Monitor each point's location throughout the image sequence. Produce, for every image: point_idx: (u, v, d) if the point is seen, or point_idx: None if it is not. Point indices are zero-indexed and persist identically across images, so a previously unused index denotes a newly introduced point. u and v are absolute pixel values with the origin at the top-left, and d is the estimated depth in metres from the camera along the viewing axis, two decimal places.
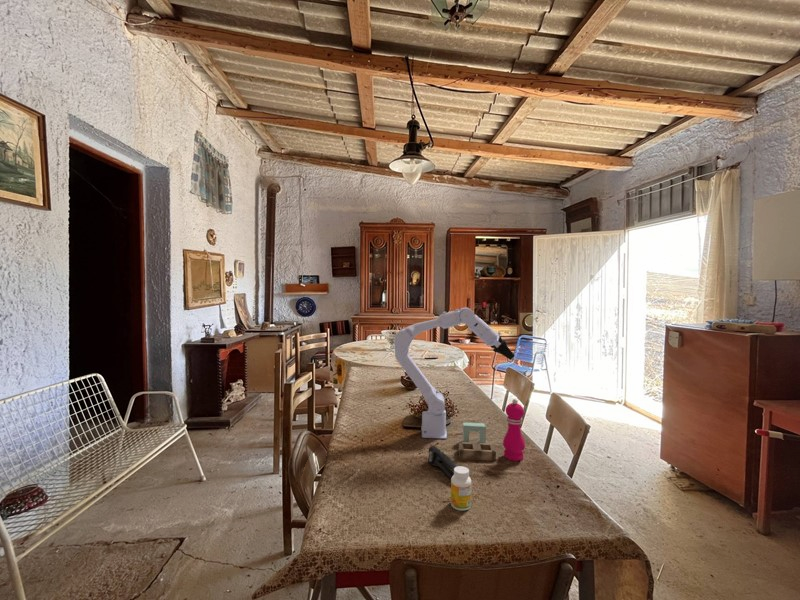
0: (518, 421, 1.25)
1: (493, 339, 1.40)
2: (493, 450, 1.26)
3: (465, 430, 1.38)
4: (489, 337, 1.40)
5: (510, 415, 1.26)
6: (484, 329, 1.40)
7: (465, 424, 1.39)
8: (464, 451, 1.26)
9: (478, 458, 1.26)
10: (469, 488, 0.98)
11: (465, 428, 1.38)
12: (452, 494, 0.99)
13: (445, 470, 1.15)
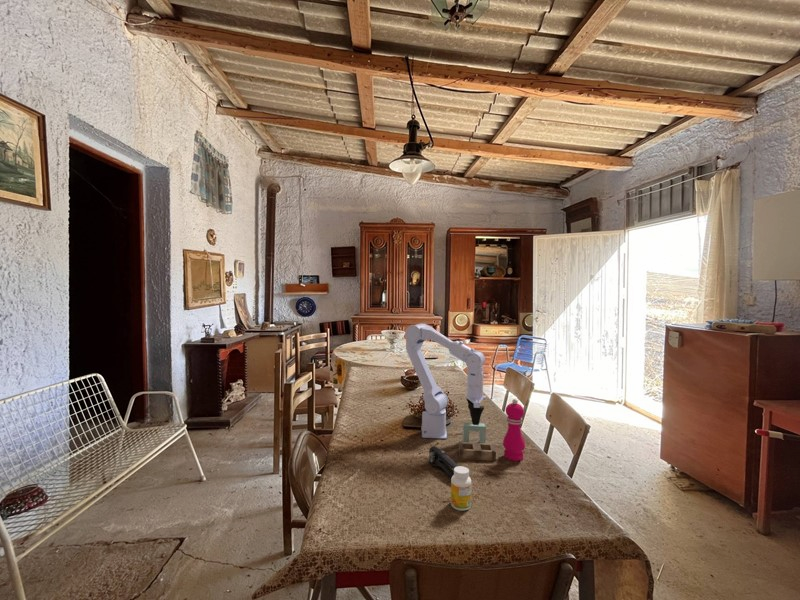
0: (518, 421, 1.25)
1: (476, 397, 1.35)
2: (493, 450, 1.26)
3: (465, 430, 1.38)
4: (475, 393, 1.35)
5: (510, 415, 1.26)
6: (474, 384, 1.35)
7: (465, 424, 1.39)
8: (464, 451, 1.26)
9: (478, 458, 1.26)
10: (469, 488, 0.98)
11: (465, 428, 1.38)
12: (452, 494, 0.99)
13: (447, 470, 1.15)
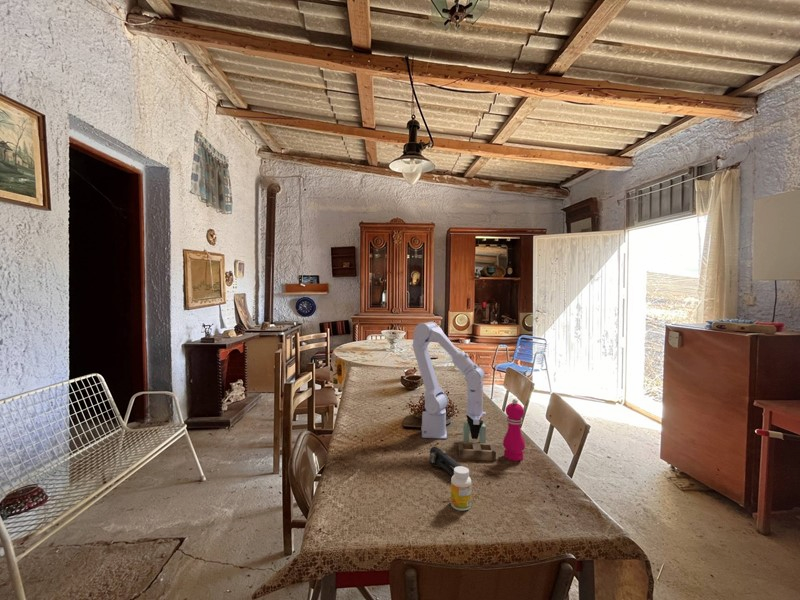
0: (518, 421, 1.25)
1: (476, 414, 1.36)
2: (493, 450, 1.26)
3: (465, 430, 1.38)
4: (475, 409, 1.36)
5: (510, 415, 1.26)
6: (474, 400, 1.36)
7: (465, 424, 1.39)
8: (464, 451, 1.26)
9: (478, 458, 1.26)
10: (469, 488, 0.98)
11: (465, 428, 1.38)
12: (452, 494, 0.99)
13: (449, 471, 1.15)
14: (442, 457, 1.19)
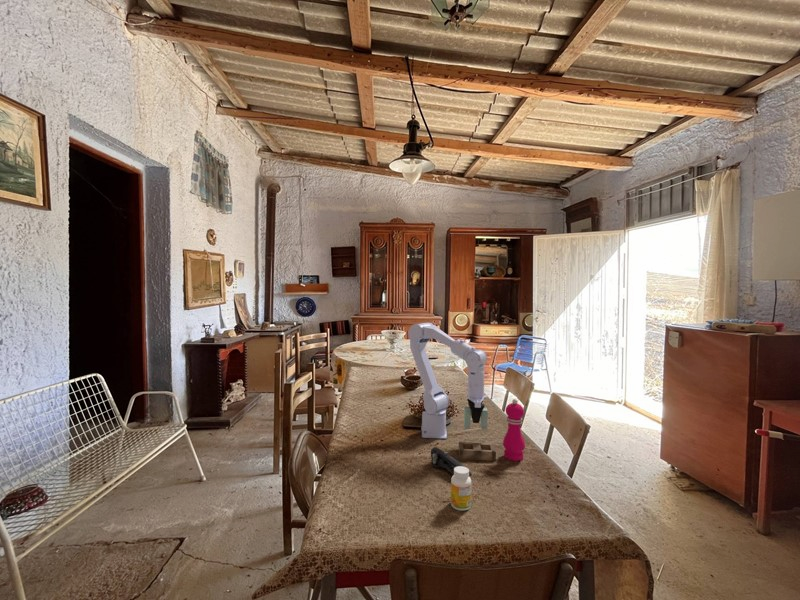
0: (518, 421, 1.25)
1: (477, 397, 1.32)
2: (493, 450, 1.26)
3: (466, 414, 1.34)
4: (476, 393, 1.32)
5: (510, 415, 1.26)
6: (474, 383, 1.32)
7: (466, 408, 1.35)
8: (464, 451, 1.26)
9: (478, 458, 1.26)
10: (469, 488, 0.98)
11: (466, 412, 1.34)
12: (452, 494, 0.99)
13: (452, 471, 1.15)
14: (444, 457, 1.18)
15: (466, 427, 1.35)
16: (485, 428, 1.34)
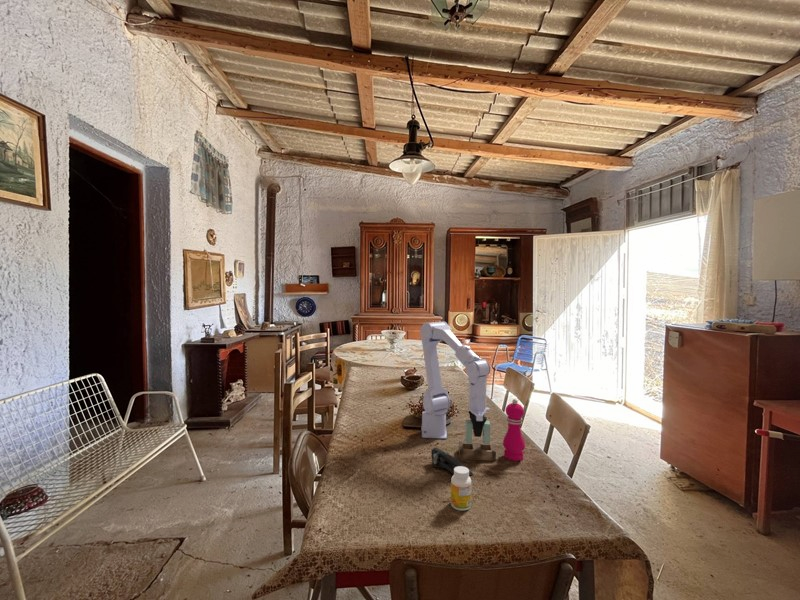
0: (518, 421, 1.25)
1: (479, 410, 1.25)
2: (493, 450, 1.26)
3: (468, 428, 1.28)
4: (478, 405, 1.25)
5: (510, 415, 1.26)
6: (473, 394, 1.26)
7: (468, 421, 1.28)
8: (464, 451, 1.26)
9: (478, 458, 1.26)
10: (469, 488, 0.98)
11: (468, 426, 1.27)
12: (452, 494, 0.99)
13: (453, 471, 1.15)
14: (445, 458, 1.18)
15: (467, 441, 1.28)
16: (487, 442, 1.27)
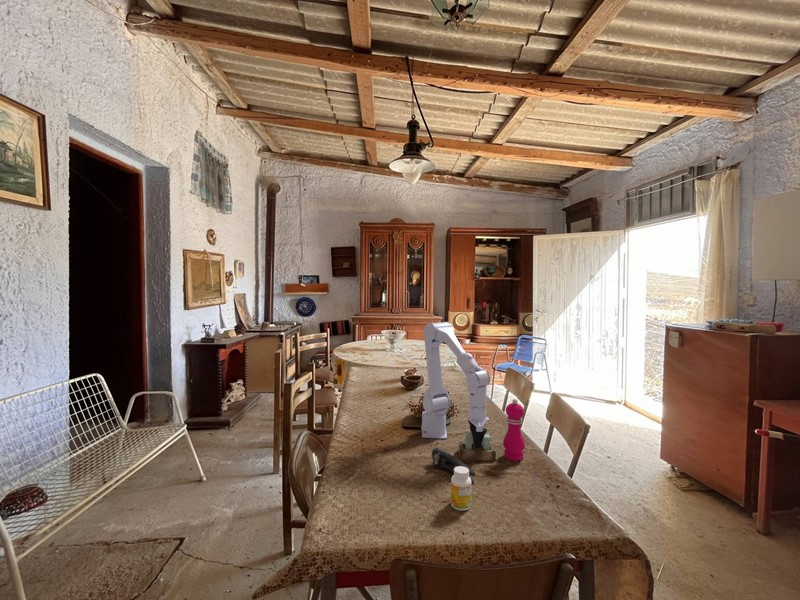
0: (518, 421, 1.25)
1: (478, 420, 1.26)
2: (493, 450, 1.26)
3: (468, 441, 1.28)
4: (478, 415, 1.26)
5: (510, 415, 1.26)
6: (473, 405, 1.26)
7: (467, 435, 1.29)
8: (464, 451, 1.26)
9: (478, 458, 1.26)
10: (469, 488, 0.98)
11: (468, 439, 1.28)
12: (452, 494, 0.99)
13: None
14: (446, 458, 1.18)
15: None
16: None
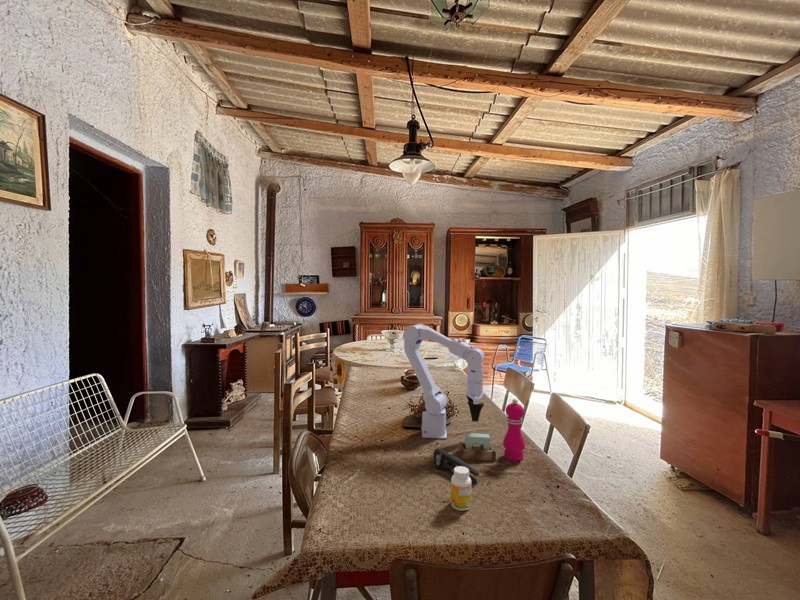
0: (518, 421, 1.25)
1: (476, 394, 1.36)
2: (493, 450, 1.26)
3: (468, 441, 1.28)
4: (475, 390, 1.36)
5: (510, 415, 1.26)
6: (475, 381, 1.36)
7: (467, 435, 1.29)
8: (464, 451, 1.26)
9: (478, 458, 1.26)
10: (469, 488, 0.98)
11: (468, 439, 1.28)
12: (452, 494, 0.99)
13: None
14: (449, 458, 1.18)
15: None
16: None
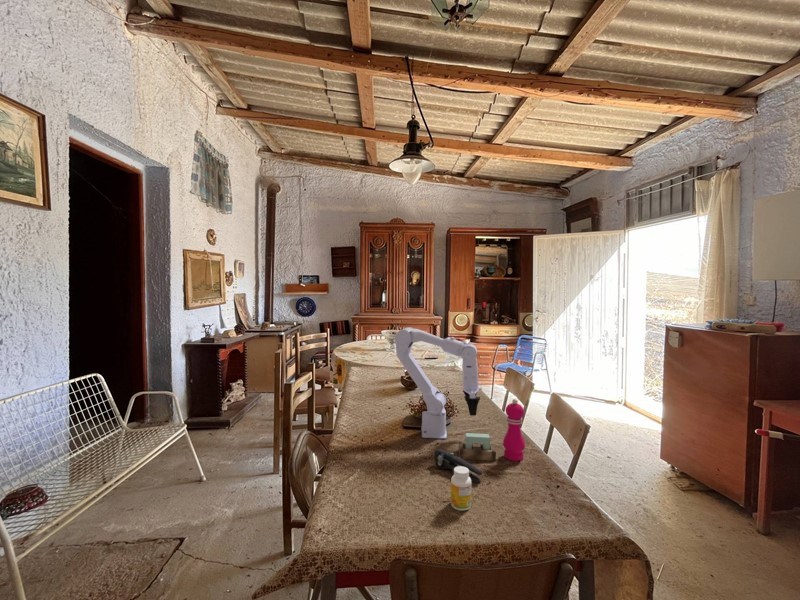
0: (518, 421, 1.25)
1: (472, 389, 1.39)
2: (493, 450, 1.26)
3: (468, 441, 1.28)
4: (471, 384, 1.39)
5: (510, 415, 1.26)
6: (471, 375, 1.39)
7: (467, 435, 1.29)
8: (464, 451, 1.26)
9: (478, 458, 1.26)
10: (469, 488, 0.98)
11: (468, 439, 1.28)
12: (452, 494, 0.99)
13: None
14: (451, 459, 1.18)
15: None
16: None
